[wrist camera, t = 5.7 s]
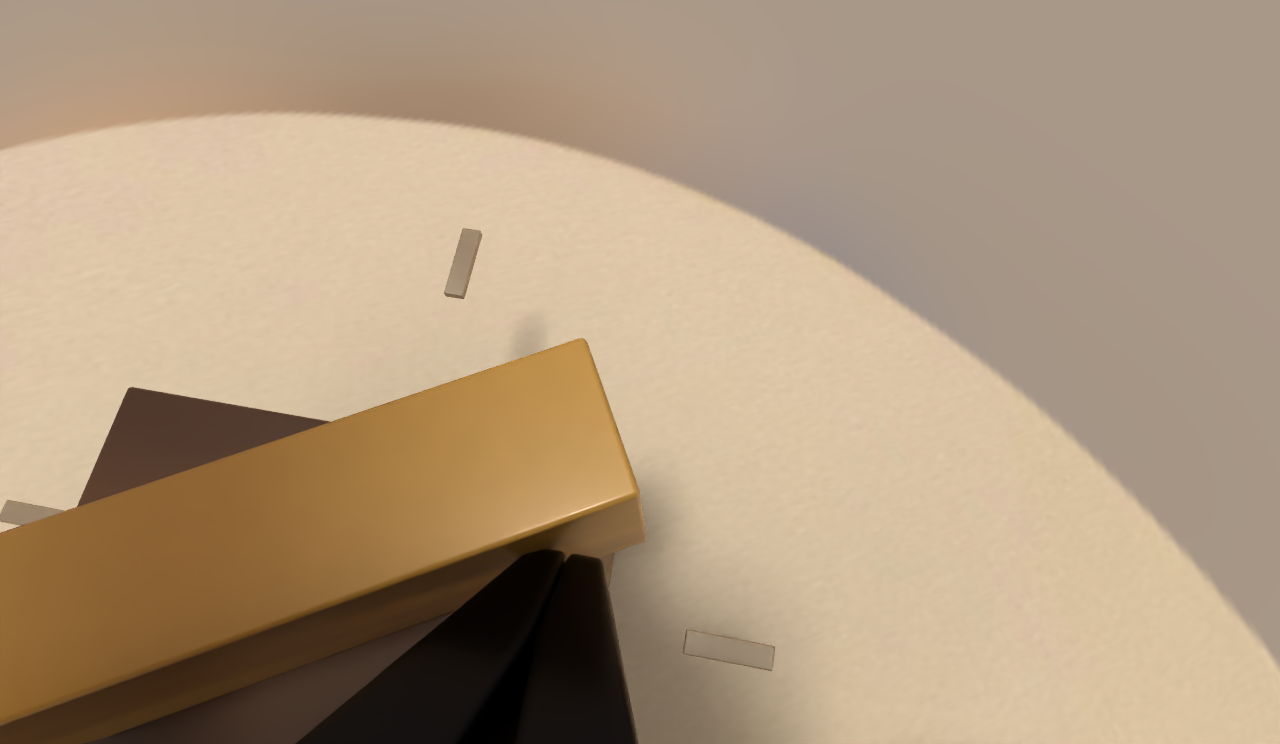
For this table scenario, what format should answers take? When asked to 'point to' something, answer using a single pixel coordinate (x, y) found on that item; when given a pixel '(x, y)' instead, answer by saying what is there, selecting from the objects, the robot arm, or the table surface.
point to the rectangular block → (305, 546)
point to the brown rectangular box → (303, 697)
